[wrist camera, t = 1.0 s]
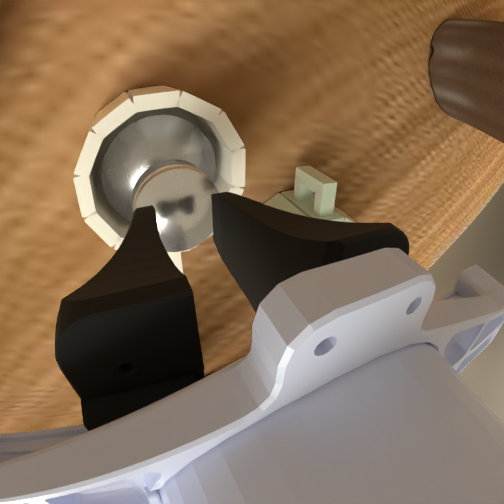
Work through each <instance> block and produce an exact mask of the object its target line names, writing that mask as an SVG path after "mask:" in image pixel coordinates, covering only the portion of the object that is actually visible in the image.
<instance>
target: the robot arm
mask: <svg viewBox="0 0 504 504" xmlns="http://www.w3.org/2000/svg"><path fill="white" fill-rule="evenodd" d="M211 199H212V220H213V239H214V243H215V245H216V247H217V250H218V252H219V254H220V256H221V258H222V260H223V262H224V263H225V265H226V266H227V268H228V270H229V271H230V273H231V274H232V276H233V277H234V279H235V280H236V282H237V283H238V285H239V286H240V288H241V289H242V291H243V292H244V294H245V295H246V297H247V298H248V300H249V301H250V303H251V305H252V306H253V308H254V310H255V312H256V316H255V318H254V321H253V324H252V345H251V350H250V352H249V353H248V354H247V355H246V356H244V357H242V358H240V359H238V360H237V361H235V362H233V363H231V364H229V365H227V366H226V367H224V368H222V369H220V370H218V371H216V372H214V373H212V374H211V375H209V376H207V377H205V376H204V364H203V358H202V352H201V345H200V339H199V332H198V325H197V318H196V311H195V304H194V297H193V292H192V289H191V287H190V284H189V282H188V280H187V277H186V276H185V275H184V274H183V273H182V272H181V271H180V270H179V269H178V268H177V267H176V266H175V264H174V263H173V261H172V260H171V258H170V257H169V255H168V253H167V251H166V249H165V247H164V245H163V243H162V241H161V239H160V236H159V232H158V225H157V218H156V211H155V208H154V207H153V205H150V206H145V207H140V208H136V209H135V211H134V214H133V218H132V221H131V224H130V226H129V229H128V231H127V233H126V236H125V237H124V239H123V241H122V243H121V245H120V247H119V248H118V250H117V251H116V253H115V254H114V256H113V257H112V258H111V259H110V261H109V262H108V263H107V264H106V265H105V266H104V267H103V268H102V269H101V270H100V271H99V272H98V273H97V274H96V275H95V276H94V277H93V278H92V279H90V280H89V281H88V282H87V283H85V284H84V285H83V286H81V287H80V288H78V289H77V290H75V291H74V292H72V293H71V294H69V295H68V296H66V297H65V298H63V299H62V301H61V305H60V309H59V313H58V317H57V323H56V332H55V357H56V361H57V363H58V365H59V367H60V369H61V371H62V372H63V374H64V375H65V377H66V378H67V380H68V381H69V383H70V384H71V386H72V387H73V389H74V390H75V391H76V393H77V394H78V396H79V397H80V398H81V406H82V415H83V423H84V424H80V425H74V426H67V427H60V428H53V429H45V430H37V431H28V432H17V433H5V434H0V504H504V423H503V422H502V421H501V420H500V419H499V417H498V416H497V415H496V414H495V413H494V412H493V411H492V409H491V408H490V407H489V406H488V405H487V404H486V403H485V402H484V401H483V399H482V398H481V397H480V396H479V395H478V394H477V393H476V392H475V391H474V390H473V388H472V387H471V386H470V385H469V384H468V383H467V382H466V381H465V380H464V379H463V378H462V377H461V375H460V374H459V373H460V372H461V371H462V370H463V369H464V368H465V367H466V366H467V365H468V364H469V363H470V362H471V361H472V360H473V359H474V358H475V357H476V356H478V355H479V354H480V353H481V352H482V351H483V350H484V349H485V348H486V347H487V346H488V345H489V344H490V343H491V341H492V340H493V338H494V337H495V335H496V333H497V332H498V331H499V329H500V327H501V326H502V324H503V323H504V286H502V285H501V284H500V283H499V282H497V281H496V280H495V279H494V278H493V277H491V276H490V275H489V274H488V273H486V272H485V271H484V270H482V269H481V268H480V267H479V266H477V265H474V266H472V267H470V268H468V269H466V270H464V271H463V272H462V273H461V274H460V275H459V277H458V279H457V281H456V283H455V286H454V290H452V291H450V292H448V293H446V294H445V295H443V296H441V297H439V298H438V299H436V300H434V301H432V300H433V296H434V292H435V281H434V279H433V277H432V275H431V274H430V273H429V272H428V271H427V270H425V269H424V268H423V267H422V266H421V265H419V264H418V263H417V262H416V261H414V260H413V259H412V258H411V257H409V256H408V254H409V242H408V238H407V236H406V235H405V234H404V233H403V232H402V231H401V230H400V229H398V228H397V227H395V226H394V225H393V224H391V223H355V222H341V221H331V220H325V219H318V218H312V217H307V216H303V215H298V214H294V213H290V212H287V211H283V210H280V209H277V208H274V207H271V206H268V205H265V204H262V203H259V202H257V201H254V200H251V199H249V198H246V197H243V196H240V195H238V194H235V193H231V192H221V193H215V194H211Z"/></svg>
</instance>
